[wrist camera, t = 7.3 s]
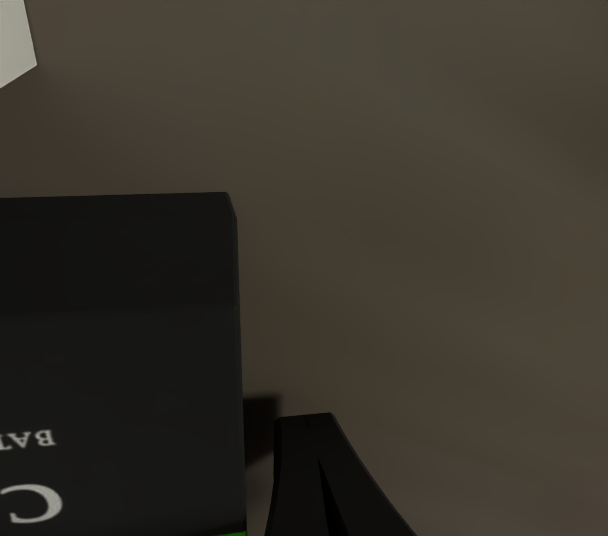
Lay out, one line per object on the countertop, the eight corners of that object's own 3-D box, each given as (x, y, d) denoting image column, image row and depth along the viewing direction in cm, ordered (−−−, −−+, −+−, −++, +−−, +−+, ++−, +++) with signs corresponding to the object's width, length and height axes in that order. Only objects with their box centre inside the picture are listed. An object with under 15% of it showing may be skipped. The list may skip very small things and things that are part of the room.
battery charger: (-371, 194, 8) (-765, 355, 5) (232, 180, 10) (247, 295, 6) (-92, 619, 15) (-180, 816, 11) (245, 571, 16) (256, 731, 13)
